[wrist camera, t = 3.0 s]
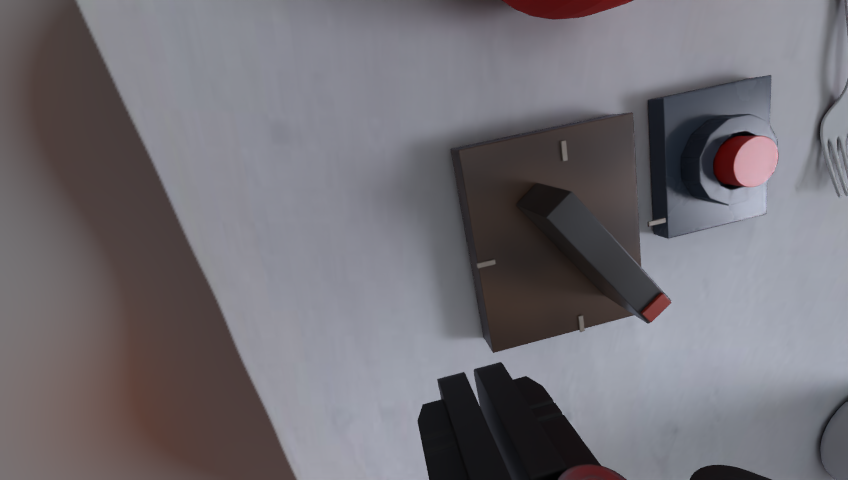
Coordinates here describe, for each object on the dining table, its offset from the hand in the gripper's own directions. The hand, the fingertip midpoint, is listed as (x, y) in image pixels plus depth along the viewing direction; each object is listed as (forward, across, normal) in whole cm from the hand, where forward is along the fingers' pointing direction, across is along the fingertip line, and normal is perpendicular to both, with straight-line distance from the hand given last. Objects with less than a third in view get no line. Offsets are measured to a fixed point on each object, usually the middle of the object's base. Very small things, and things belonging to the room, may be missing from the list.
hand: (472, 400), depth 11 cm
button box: (+21, -26, 0) cm, 33 cm away
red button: (+18, -26, 0) cm, 31 cm away
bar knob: (+18, -13, +4) cm, 23 cm away
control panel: (+21, -12, +3) cm, 24 cm away
